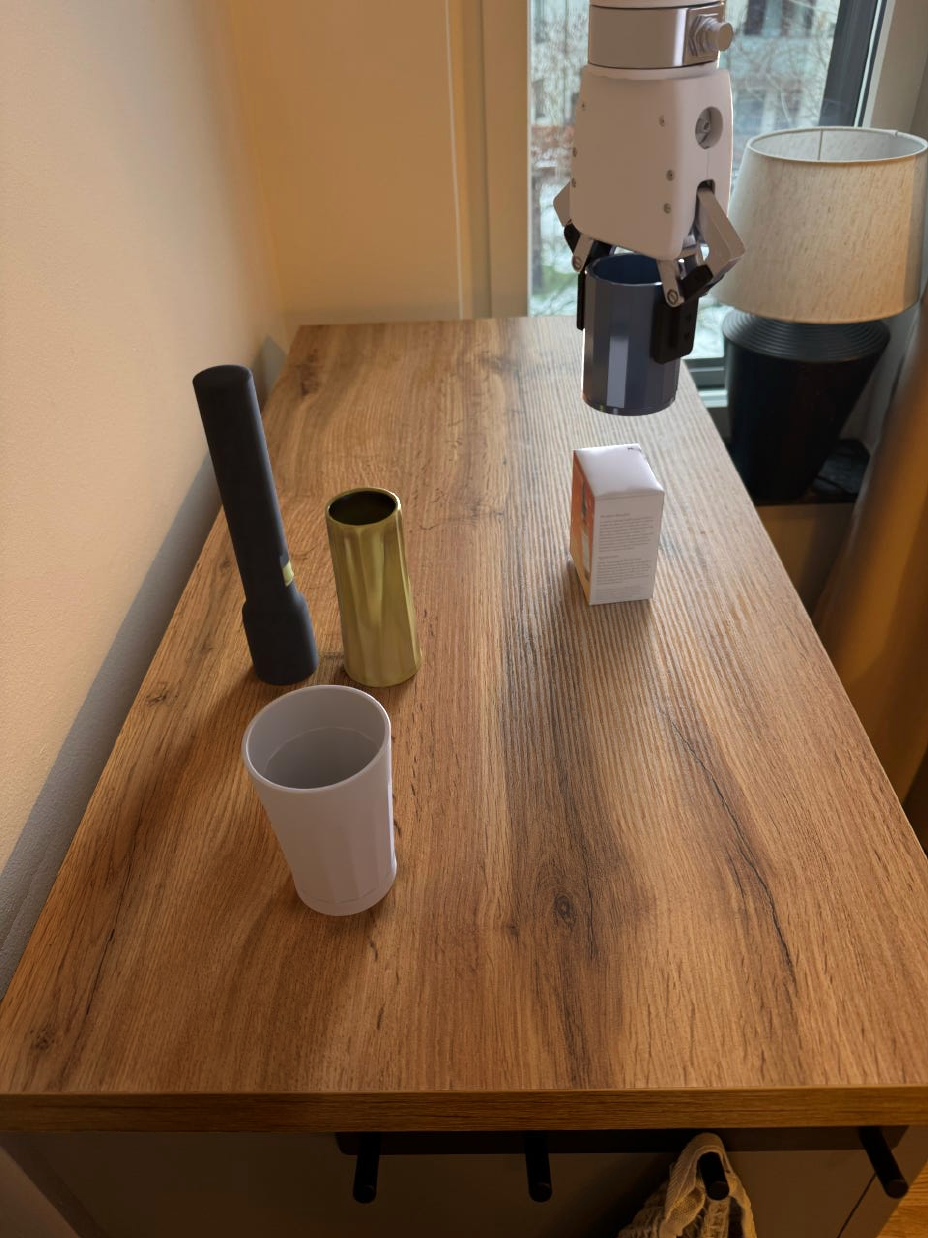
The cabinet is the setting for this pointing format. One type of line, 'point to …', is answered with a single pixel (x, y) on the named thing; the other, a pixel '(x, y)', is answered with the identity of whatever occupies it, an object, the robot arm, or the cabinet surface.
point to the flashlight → (255, 527)
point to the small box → (615, 523)
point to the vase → (373, 587)
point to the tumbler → (625, 337)
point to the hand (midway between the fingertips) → (632, 339)
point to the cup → (327, 793)
